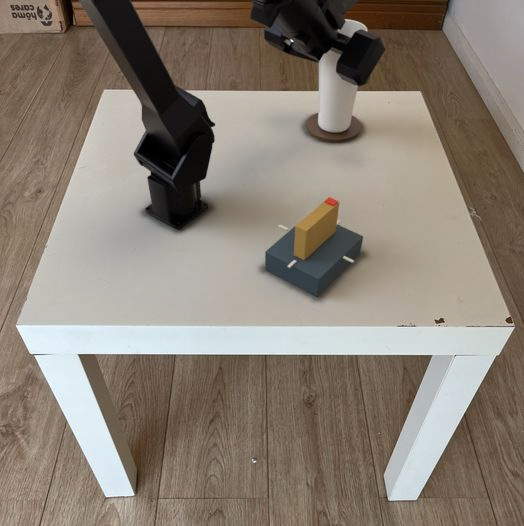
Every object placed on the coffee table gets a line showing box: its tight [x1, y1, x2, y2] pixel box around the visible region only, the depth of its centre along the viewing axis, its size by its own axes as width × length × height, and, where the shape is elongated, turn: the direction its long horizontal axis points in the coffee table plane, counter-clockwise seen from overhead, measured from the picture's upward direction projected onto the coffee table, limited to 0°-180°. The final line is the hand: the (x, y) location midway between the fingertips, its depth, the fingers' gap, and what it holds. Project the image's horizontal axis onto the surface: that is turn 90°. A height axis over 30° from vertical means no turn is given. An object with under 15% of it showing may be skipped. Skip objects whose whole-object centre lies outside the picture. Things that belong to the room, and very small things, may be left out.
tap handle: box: [294, 196, 340, 260], centre depth 71 cm, size 7×2×5 cm, turn 142°
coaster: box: [305, 112, 362, 144], centre depth 96 cm, size 9×9×1 cm
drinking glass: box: [317, 18, 368, 133], centre depth 89 cm, size 7×7×15 cm
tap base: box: [264, 219, 364, 297], centre depth 74 cm, size 11×11×3 cm
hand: (344, 70), depth 89 cm, fingers open, 9 cm apart
